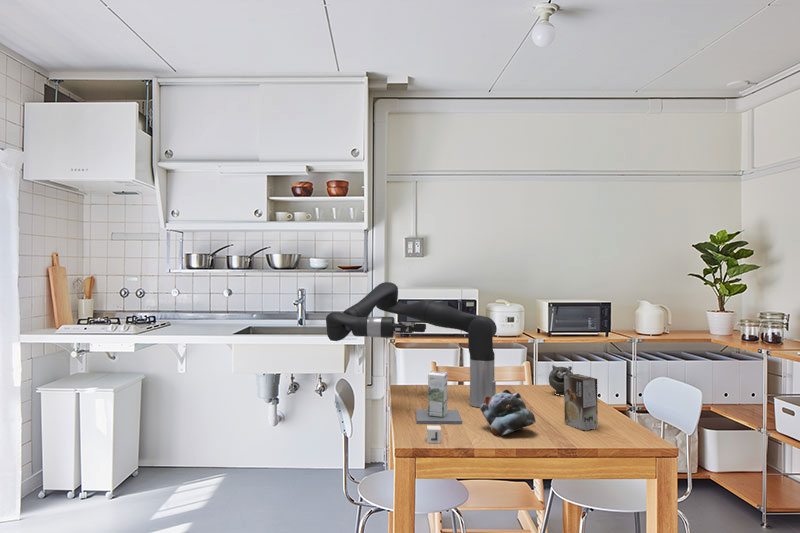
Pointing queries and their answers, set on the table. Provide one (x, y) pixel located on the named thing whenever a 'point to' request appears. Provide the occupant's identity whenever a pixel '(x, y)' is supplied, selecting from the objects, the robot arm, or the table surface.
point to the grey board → (450, 417)
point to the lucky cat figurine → (506, 413)
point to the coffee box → (580, 401)
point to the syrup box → (437, 394)
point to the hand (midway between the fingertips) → (425, 327)
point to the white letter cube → (433, 434)
